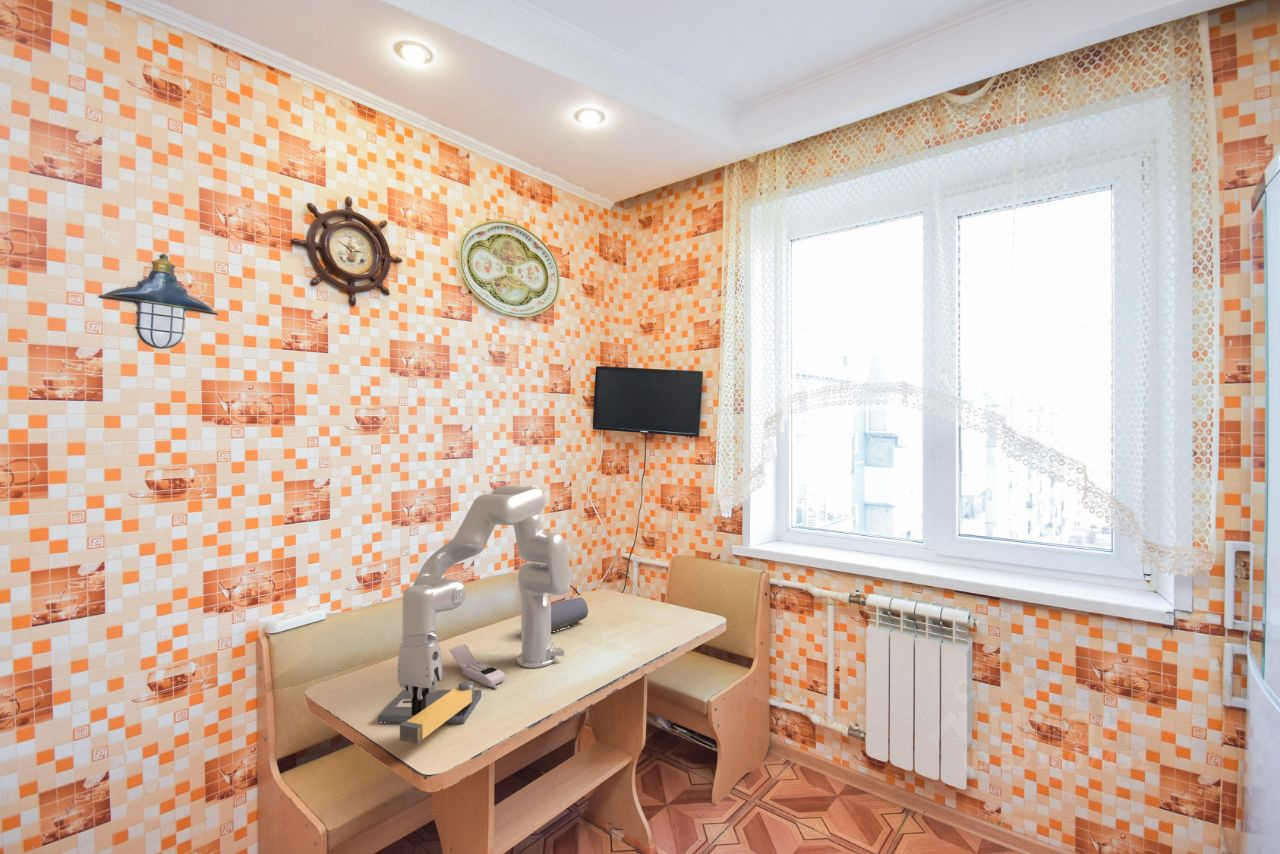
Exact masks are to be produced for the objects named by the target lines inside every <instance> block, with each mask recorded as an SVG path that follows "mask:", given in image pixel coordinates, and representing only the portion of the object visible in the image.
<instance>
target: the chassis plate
mask: <svg viewBox="0 0 1280 854" xmlns="http://www.w3.org/2000/svg"><path fill="white" fill-rule="evenodd" d="M451 690H452V689H438V690H437V691H436V692H432V693H429V694H428V695H427V696H426V708H427V707H428V706H430V705H431V704H432V703H434V702H435V701H437V700H438V699H440V698H441V697H443V696H444V695H445V694H447V693H448V692H450V691H451ZM481 699H482V689H474V704H473V705H471V706H468V707H464V708H463V709H462V710H460V711H459V712H458V713H456V714H455V715H454V716H452V717H451V718H450V719H448V720H447V721H446V722H444V723H443V724H442V725H444V724H445V725H464V724H465V723H466V722H467V720H468V719H469V716H470V715H471V714H472V712H473V711H474V709H475V708H476V706H477V705H478V703H479V702H480V700H481ZM414 716H415V715H414ZM414 716H413V715H412V699H411V698H409V693H408V691H407V690H406V689H402V691H400V692H399V694H398V695H397V696H395V698H393V700H392V701H391V702H390V703H389V704H388V705H386V706H385V707H384V709H383V710H382V711H380V713H379V714H378V715H377V719H378V720H377V723H378V722H382V723H381V724H402V723H403V722H404V721H408V720H409V719H411V718H412V717H414ZM384 722H385V723H384Z"/></svg>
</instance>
